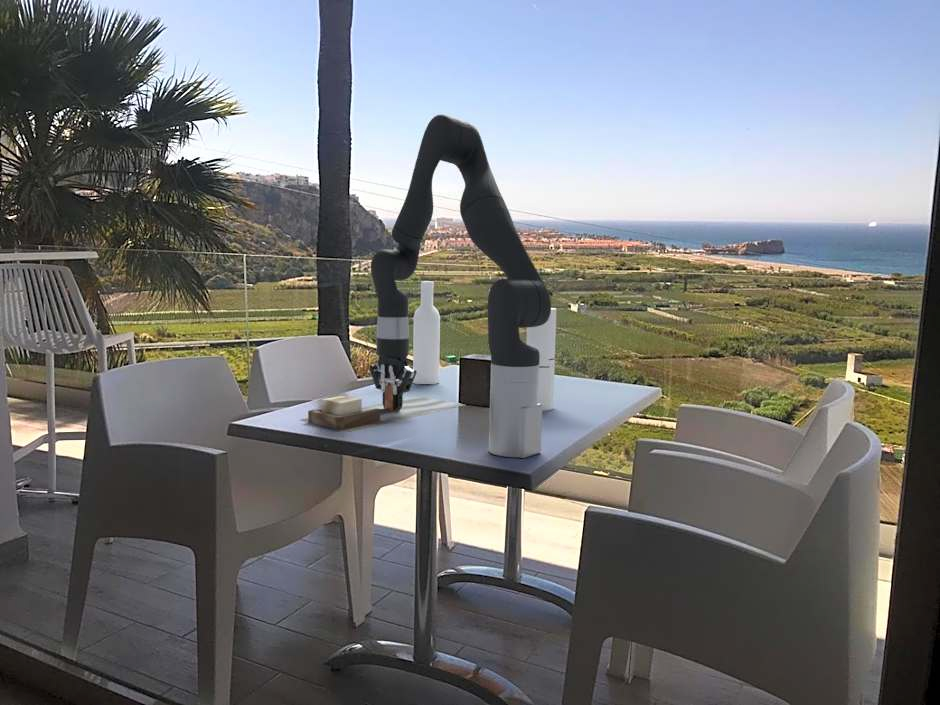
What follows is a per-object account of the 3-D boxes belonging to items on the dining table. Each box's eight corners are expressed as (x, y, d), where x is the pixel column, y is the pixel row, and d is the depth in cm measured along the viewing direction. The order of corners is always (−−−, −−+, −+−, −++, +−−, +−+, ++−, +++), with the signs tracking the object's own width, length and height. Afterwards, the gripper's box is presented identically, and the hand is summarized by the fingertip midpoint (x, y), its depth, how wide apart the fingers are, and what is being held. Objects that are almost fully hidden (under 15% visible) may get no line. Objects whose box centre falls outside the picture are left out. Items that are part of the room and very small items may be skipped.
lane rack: (466, 407, 185) (466, 394, 185) (349, 435, 155) (349, 419, 154) (418, 399, 195) (418, 387, 195) (299, 423, 165) (299, 408, 164)
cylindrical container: (558, 408, 187) (562, 308, 184) (540, 411, 182) (543, 309, 179) (537, 403, 192) (540, 307, 189) (518, 407, 187) (521, 307, 184)
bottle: (416, 380, 226) (417, 280, 222) (441, 381, 224) (443, 281, 221) (409, 384, 218) (410, 281, 214) (436, 385, 217) (437, 282, 213)
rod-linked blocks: (405, 412, 175) (405, 386, 174) (340, 425, 159) (340, 398, 159) (387, 408, 179) (387, 383, 178) (322, 421, 163) (322, 394, 162)
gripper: (425, 337, 172) (424, 410, 174) (382, 332, 181) (382, 402, 183) (403, 339, 166) (402, 415, 169) (360, 334, 175) (360, 407, 177)
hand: (392, 408), depth 176 cm, fingers closed on rod-linked blocks, 2 cm apart
